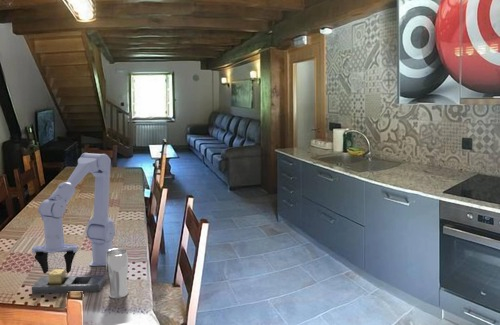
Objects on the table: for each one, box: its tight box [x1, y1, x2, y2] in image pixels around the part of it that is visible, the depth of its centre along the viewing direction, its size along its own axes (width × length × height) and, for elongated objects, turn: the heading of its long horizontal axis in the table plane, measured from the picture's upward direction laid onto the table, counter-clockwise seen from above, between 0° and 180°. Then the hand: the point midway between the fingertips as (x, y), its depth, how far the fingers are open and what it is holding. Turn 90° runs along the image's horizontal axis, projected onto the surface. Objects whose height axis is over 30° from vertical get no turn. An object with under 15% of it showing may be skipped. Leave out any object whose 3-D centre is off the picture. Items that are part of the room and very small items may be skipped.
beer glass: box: [105, 248, 129, 300], centre depth 133 cm, size 7×7×15 cm
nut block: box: [48, 268, 67, 285], centre depth 138 cm, size 4×4×6 cm
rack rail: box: [31, 274, 107, 295], centre depth 139 cm, size 8×22×2 cm, turn 94°
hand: (57, 271), depth 138 cm, fingers open, 7 cm apart
